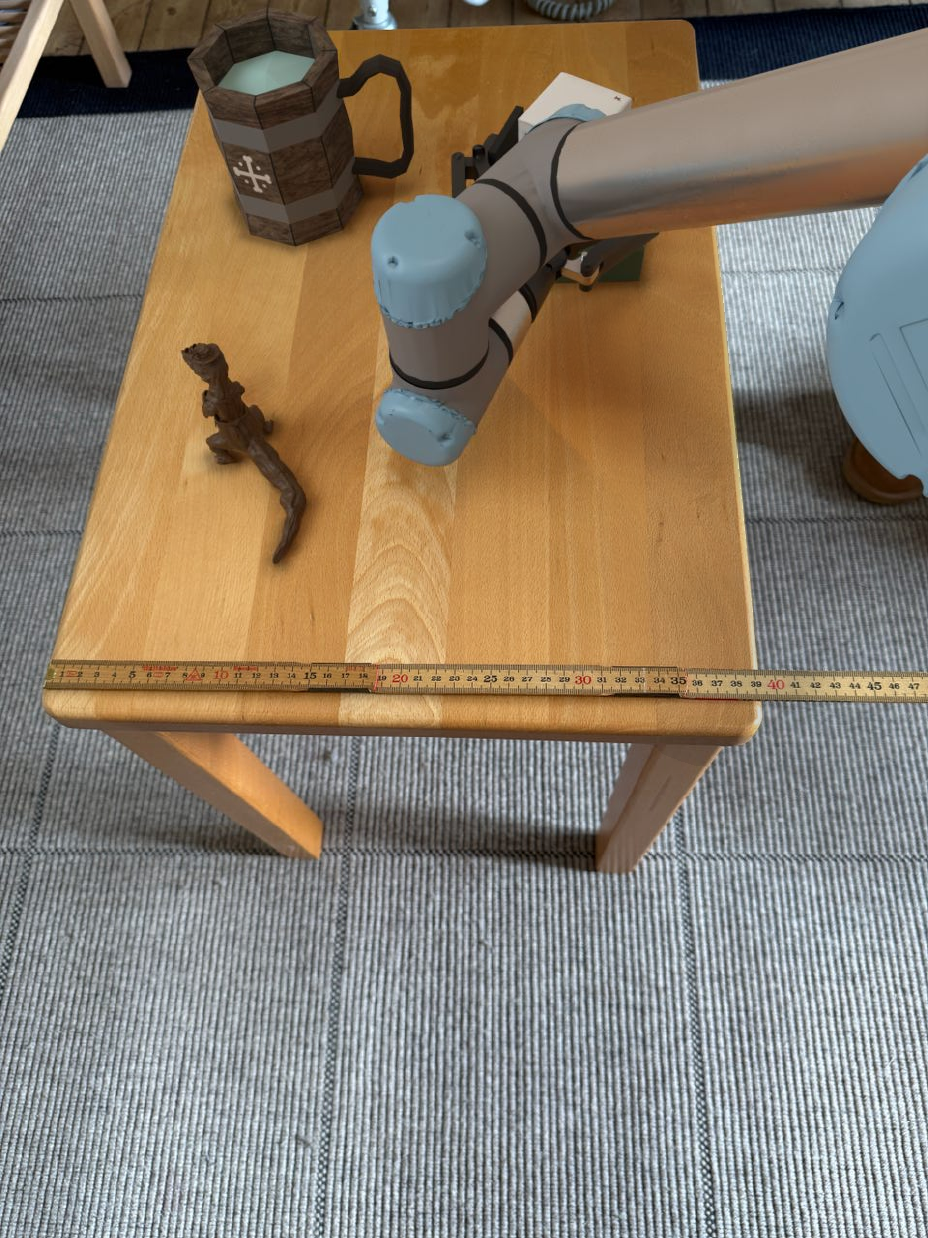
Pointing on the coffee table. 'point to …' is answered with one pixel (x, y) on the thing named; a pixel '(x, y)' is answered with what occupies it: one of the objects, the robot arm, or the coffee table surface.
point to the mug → (290, 122)
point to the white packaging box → (572, 101)
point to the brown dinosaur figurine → (244, 433)
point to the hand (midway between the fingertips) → (586, 135)
